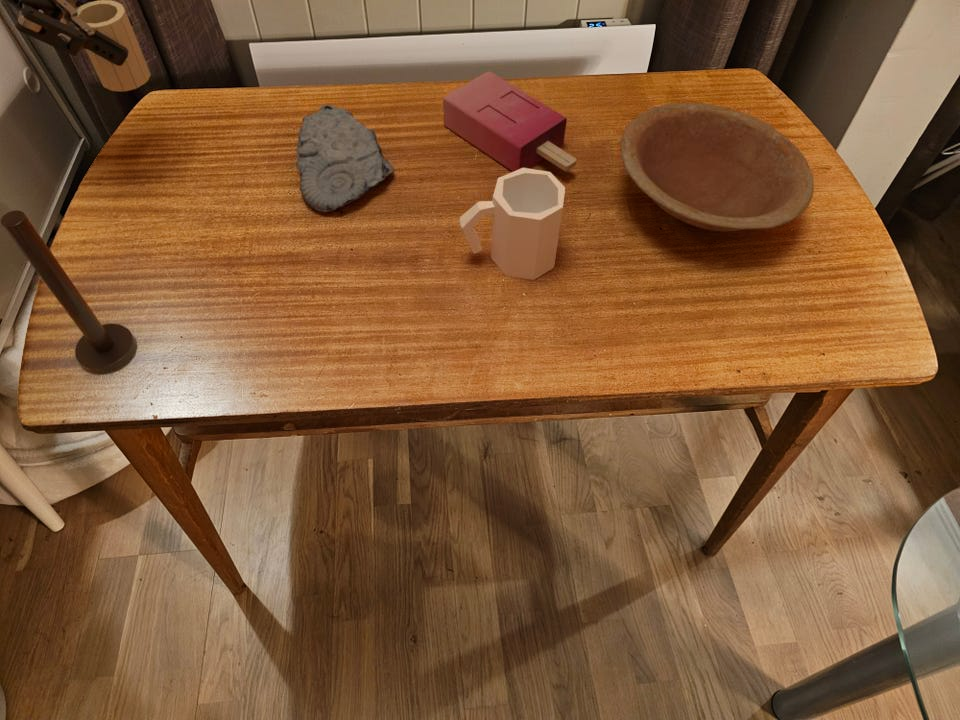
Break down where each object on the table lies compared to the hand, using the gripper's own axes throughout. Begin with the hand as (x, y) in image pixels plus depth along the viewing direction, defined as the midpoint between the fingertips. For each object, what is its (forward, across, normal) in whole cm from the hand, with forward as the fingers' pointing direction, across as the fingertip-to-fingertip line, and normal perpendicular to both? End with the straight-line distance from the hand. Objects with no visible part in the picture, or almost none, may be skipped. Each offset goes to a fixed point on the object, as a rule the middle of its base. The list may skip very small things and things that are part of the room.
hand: (127, 42), depth 82 cm
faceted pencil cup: (+2, 0, +4) cm, 5 cm away
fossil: (+28, -6, -4) cm, 29 cm away
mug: (+41, -26, -17) cm, 51 cm away
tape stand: (+8, -31, +16) cm, 36 cm away
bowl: (+60, -21, -36) cm, 73 cm away
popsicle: (+45, -5, -21) cm, 50 cm away
